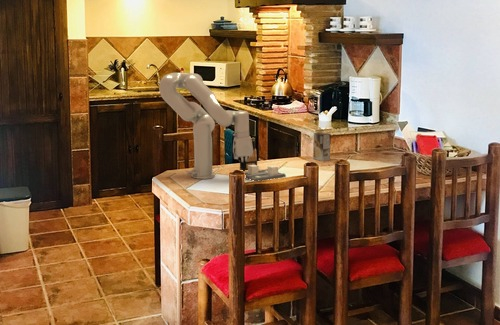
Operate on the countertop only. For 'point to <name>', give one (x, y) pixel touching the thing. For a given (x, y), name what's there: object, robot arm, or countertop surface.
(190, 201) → the countertop surface
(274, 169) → the tab
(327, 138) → the coffee box
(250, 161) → the ammunition clip
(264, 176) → the switch bank
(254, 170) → the tab
